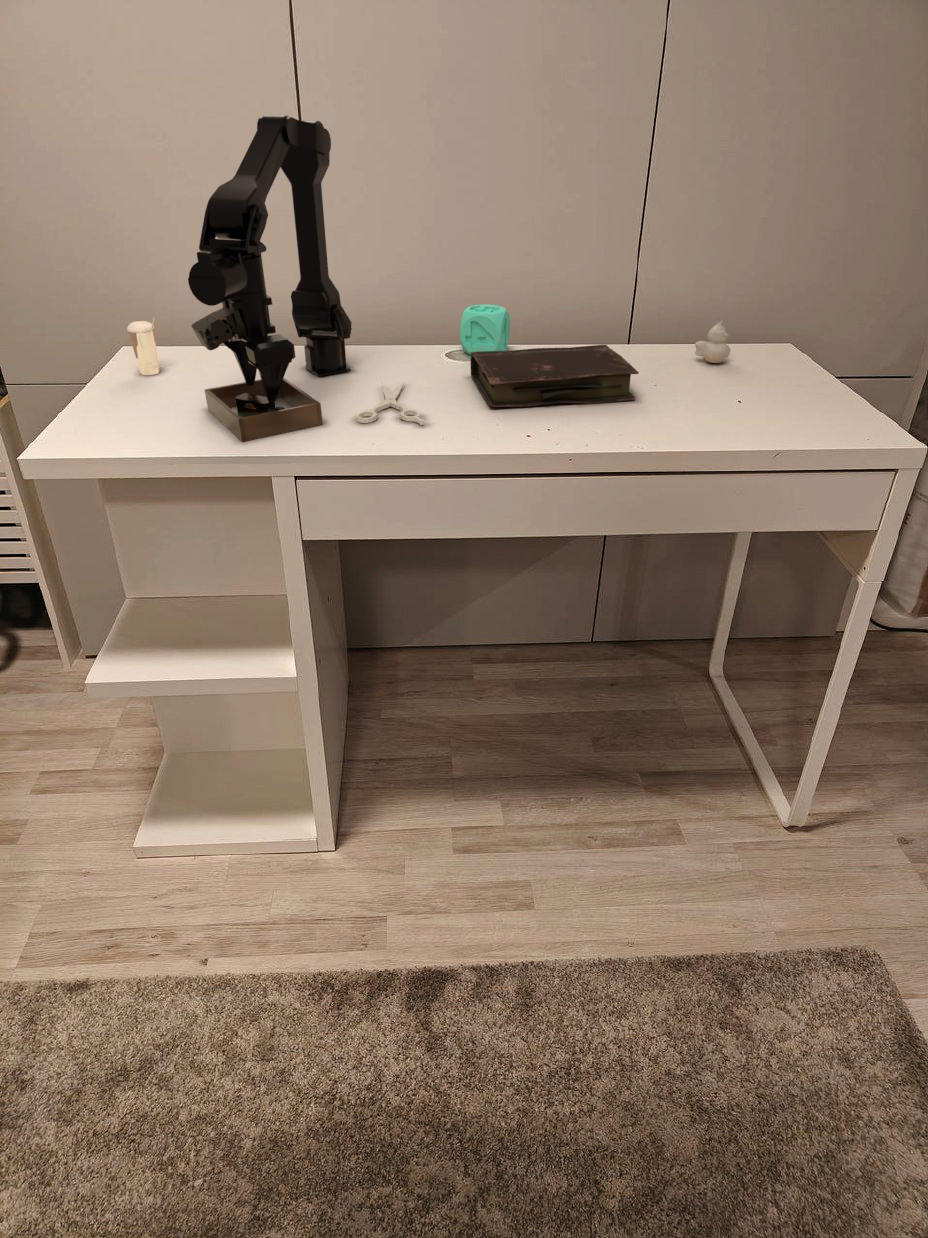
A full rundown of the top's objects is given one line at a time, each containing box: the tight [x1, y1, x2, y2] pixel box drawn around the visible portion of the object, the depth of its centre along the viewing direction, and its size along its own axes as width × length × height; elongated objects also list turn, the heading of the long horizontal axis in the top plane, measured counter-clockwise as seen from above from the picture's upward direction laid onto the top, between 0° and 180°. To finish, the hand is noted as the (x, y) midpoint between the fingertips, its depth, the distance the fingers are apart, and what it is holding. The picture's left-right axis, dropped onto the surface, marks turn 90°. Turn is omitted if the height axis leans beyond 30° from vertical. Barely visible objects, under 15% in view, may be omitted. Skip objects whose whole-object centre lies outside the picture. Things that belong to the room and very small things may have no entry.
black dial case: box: [235, 393, 286, 418], centre depth 132 cm, size 5×7×3 cm, turn 63°
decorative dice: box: [459, 304, 511, 356], centre depth 160 cm, size 8×8×8 cm
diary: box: [470, 344, 639, 408], centre depth 142 cm, size 19×25×5 cm
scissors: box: [356, 382, 425, 426], centre depth 137 cm, size 11×1×20 cm
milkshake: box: [126, 317, 160, 376], centre depth 149 cm, size 4×5×10 cm
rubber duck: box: [694, 318, 731, 364], centre depth 154 cm, size 5×7×8 cm
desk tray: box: [204, 376, 324, 443], centre depth 132 cm, size 13×16×4 cm
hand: (261, 393), depth 131 cm, fingers open, 9 cm apart
